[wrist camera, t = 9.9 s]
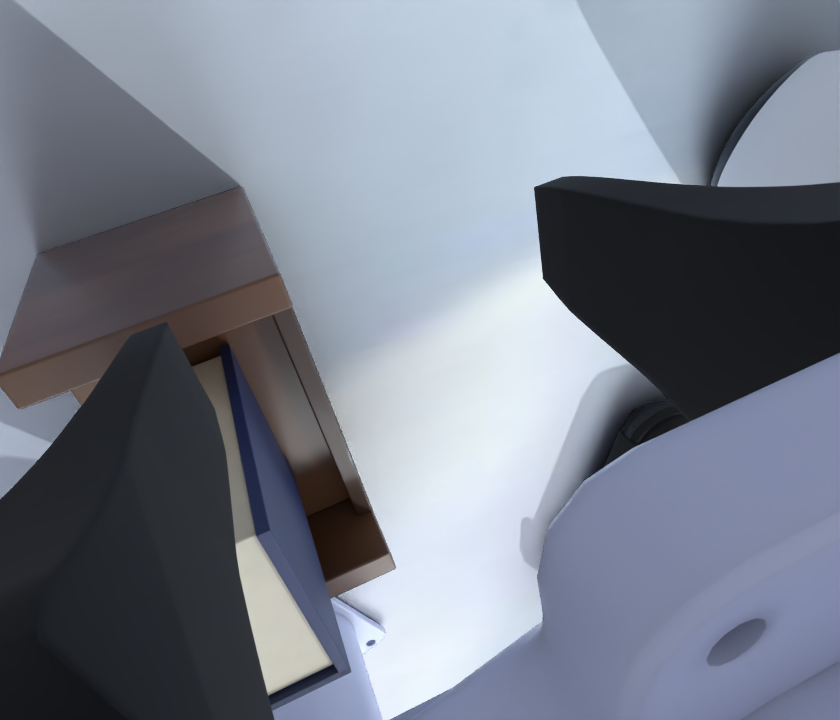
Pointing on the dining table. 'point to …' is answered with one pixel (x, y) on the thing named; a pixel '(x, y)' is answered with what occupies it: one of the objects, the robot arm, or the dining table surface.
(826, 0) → the dining table surface
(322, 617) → the book
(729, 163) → the spread jar
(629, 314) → the robot arm
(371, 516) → the shelf
